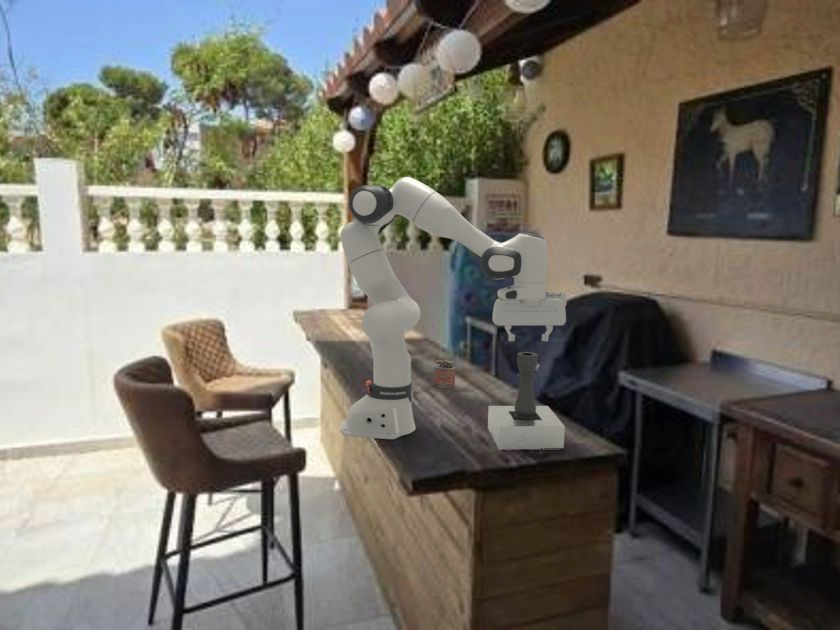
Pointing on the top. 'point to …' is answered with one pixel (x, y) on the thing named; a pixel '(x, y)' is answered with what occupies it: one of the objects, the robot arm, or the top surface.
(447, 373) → the lighter
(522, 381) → the candle holder
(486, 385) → the top surface
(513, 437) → the sleeve block
